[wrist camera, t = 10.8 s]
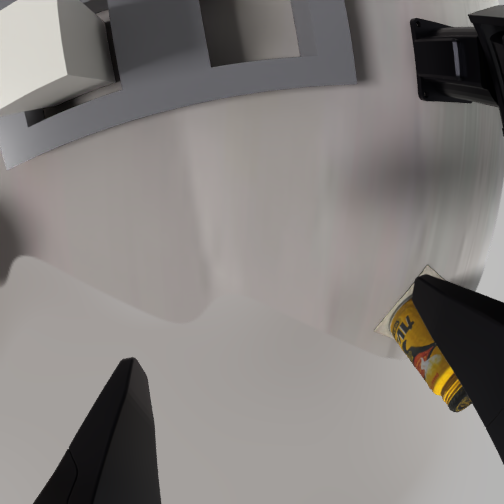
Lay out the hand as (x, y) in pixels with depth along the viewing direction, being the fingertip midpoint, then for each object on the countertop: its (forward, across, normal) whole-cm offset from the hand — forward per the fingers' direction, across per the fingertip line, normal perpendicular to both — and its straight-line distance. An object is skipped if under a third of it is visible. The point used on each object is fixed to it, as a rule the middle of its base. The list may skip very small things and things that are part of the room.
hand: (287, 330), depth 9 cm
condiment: (+12, -17, +16) cm, 26 cm away
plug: (+12, +7, -10) cm, 17 cm away
